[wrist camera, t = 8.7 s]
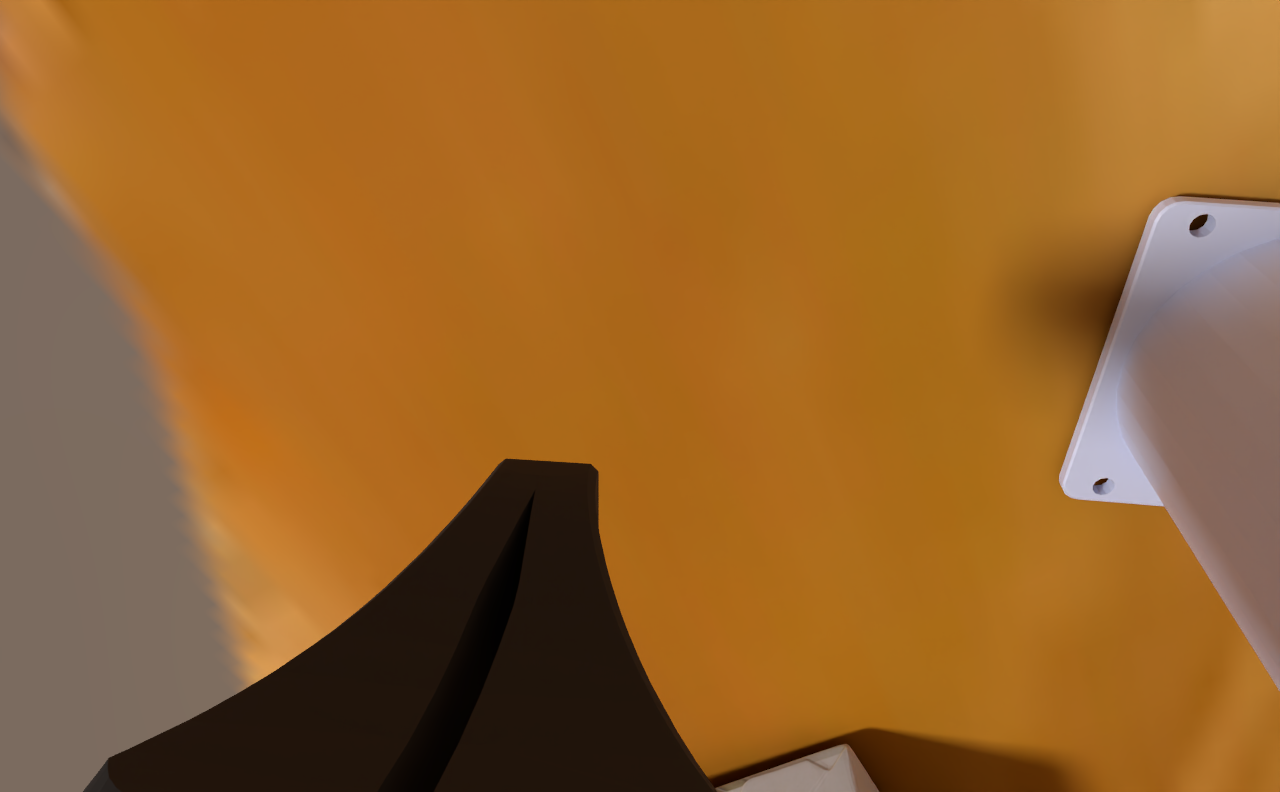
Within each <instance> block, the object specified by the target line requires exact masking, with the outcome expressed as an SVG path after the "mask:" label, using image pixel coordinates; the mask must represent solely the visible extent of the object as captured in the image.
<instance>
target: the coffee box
mask: <svg viewBox="0 0 1280 792" xmlns="http://www.w3.org/2000/svg"><path fill="white" fill-rule="evenodd" d="M715 789H716V791H717V792H879V790H878V789H877V787H876V785H875V784H874V783H873V781H872V780H871V778H870V776H869V775H868V773H867V771H866V770H865V768H864V767H863V765H862V764H861V762H860V761H859V759H858V758H857V756H856V755H855V753H854V752H853V750H852V749H851V747H850V746H849V745H847V744H842V745H838V746H835V747H832V748H829V749H826V750H823V751H820V752H817V753H814V754H811V755H808V756H805V757H802V758H799V759H796V760H794V761H791V762H788V763H785V764H782V765H780V766H777V767H774V768H771V769H768V770H765V771H762V772H759V773H756V774H754V775H751V776H748V777H745V778H743V779H740V780H737V781H734V782H731V783H728V784H725V785H722V786H719V787H716V788H715Z"/></svg>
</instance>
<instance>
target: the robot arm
mask: <svg viewBox="0 0 1280 792" xmlns="http://www.w3.org/2000/svg"><path fill="white" fill-rule="evenodd" d="M1204 214H1208V219H1207V221H1206V223H1205V224H1204V226H1202V227H1201V228H1199V229H1197V230H1191V231H1190V230H1189V227H1190V224H1191V222H1192V221H1193V219H1195V218H1196V217H1198V216H1199V215H1204ZM1103 478H1109V479H1108V480H1107V482H1105V483H1103V484H1102V485H1094V483H1095V482H1096V481H1098V480H1100V479H1103ZM1059 482H1060V485H1061V487H1062V489H1063V491H1064V493H1065V494H1066V495H1067V496H1069V497H1070V498H1074V499H1080V500H1092V501H1105V502H1117V503H1129V504H1141V505H1154V506H1165V508H1166V510H1167V511H1168V513H1169V514H1170V516H1171V518H1172V519H1173V521H1174V522H1175V524H1176V526H1177V527H1178V529H1179V530H1180V532H1181V534H1182V535H1183V537H1184V539H1185V540H1186V542H1187V543H1188V545H1189V547H1190V548H1191V550H1192V551H1193V553H1194V555H1195V556H1196V558H1197V559H1198V561H1199V563H1200V564H1201V566H1202V567H1203V569H1204V571H1205V572H1206V574H1207V575H1208V577H1209V579H1210V580H1211V582H1212V583H1213V585H1214V587H1215V588H1216V590H1217V591H1218V593H1219V595H1220V596H1221V598H1222V599H1223V601H1224V603H1225V604H1226V606H1227V607H1228V609H1229V611H1230V612H1231V614H1232V615H1233V617H1234V619H1235V620H1236V622H1237V623H1238V625H1239V627H1240V628H1241V630H1242V631H1243V633H1244V635H1245V636H1246V638H1247V640H1248V641H1249V643H1250V644H1251V646H1252V648H1253V649H1254V651H1255V652H1256V654H1257V656H1258V657H1259V659H1260V660H1261V662H1262V664H1263V665H1264V667H1265V668H1266V670H1267V672H1268V673H1269V675H1270V676H1271V678H1272V680H1273V681H1274V683H1275V684H1276V686H1277V688H1278V689H1279V691H1280V203H1273V202H1259V201H1244V200H1229V199H1214V198H1200V197H1185V196H1177V197H1170V198H1168V199H1166V200H1163V201H1161V202H1160V203H1159V204H1158V205H1157V206H1156V207H1154V208H1153V210H1152V212H1151V214H1150V215H1149V217H1148V220H1147V223H1146V226H1145V229H1144V232H1143V235H1142V238H1141V241H1140V244H1139V246H1138V249H1137V252H1136V255H1135V258H1134V261H1133V264H1132V267H1131V270H1130V272H1129V275H1128V278H1127V281H1126V284H1125V287H1124V290H1123V293H1122V296H1121V298H1120V301H1119V304H1118V307H1117V310H1116V313H1115V316H1114V319H1113V322H1112V324H1111V327H1110V330H1109V333H1108V336H1107V339H1106V342H1105V345H1104V348H1103V351H1102V353H1101V356H1100V359H1099V362H1098V365H1097V368H1096V371H1095V374H1094V377H1093V379H1092V382H1091V385H1090V388H1089V391H1088V394H1087V397H1086V400H1085V403H1084V405H1083V408H1082V411H1081V414H1080V417H1079V420H1078V423H1077V426H1076V429H1075V432H1074V434H1073V437H1072V440H1071V443H1070V446H1069V449H1068V452H1067V455H1066V458H1065V460H1064V463H1063V466H1062V469H1061V472H1060V475H1059ZM83 792H717V791H716V789H715V788H714V786H713V785H712V784H711V782H710V781H709V779H708V778H707V777H706V775H705V774H704V772H703V771H702V769H701V768H700V766H699V765H698V764H697V762H696V761H695V759H694V757H693V756H692V754H691V753H690V751H689V749H688V748H687V746H686V745H685V743H684V742H683V740H682V738H681V737H680V735H679V734H678V732H677V730H676V729H675V727H674V725H673V723H672V721H671V719H670V718H669V716H668V714H667V712H666V710H665V709H664V707H663V705H662V703H661V701H660V699H659V698H658V696H657V694H656V692H655V690H654V689H653V687H652V685H651V683H650V681H649V679H648V677H647V674H646V672H645V670H644V668H643V666H642V664H641V661H640V659H639V657H638V655H637V653H636V650H635V648H634V645H633V643H632V641H631V638H630V636H629V633H628V631H627V628H626V626H625V623H624V620H623V617H622V615H621V612H620V609H619V606H618V603H617V600H616V597H615V594H614V590H613V587H612V584H611V581H610V577H609V573H608V570H607V566H606V562H605V557H604V553H603V548H602V544H601V540H600V534H599V529H598V471H597V470H596V469H595V468H594V467H593V466H592V465H591V464H583V463H567V462H551V461H535V460H519V459H505V460H504V461H502V462H501V463H500V464H499V465H498V466H497V467H496V468H495V470H494V471H493V472H492V473H491V475H490V476H489V477H488V478H487V480H486V481H485V482H484V483H483V485H482V486H481V487H480V488H479V489H478V491H477V492H476V493H475V494H474V495H473V497H472V498H471V499H470V500H469V501H468V502H467V504H466V505H465V506H464V507H463V508H462V509H461V511H460V512H459V513H458V514H457V515H456V516H455V517H454V518H453V520H452V521H451V522H450V523H449V524H448V525H447V526H446V527H445V528H444V529H443V530H442V531H441V532H440V534H439V535H438V536H437V537H436V538H435V539H434V540H433V541H432V542H431V543H430V544H429V545H428V546H427V547H426V548H425V550H424V551H423V552H422V553H421V554H420V555H419V556H417V557H416V558H415V559H414V560H413V561H412V562H411V563H410V564H409V565H408V566H407V567H406V568H405V569H404V570H403V571H402V572H401V573H400V574H399V575H398V576H397V577H396V578H395V579H393V580H392V581H391V582H390V583H389V584H388V585H387V586H386V587H385V588H384V589H383V590H382V591H381V592H379V593H378V594H377V595H376V596H375V597H374V598H372V599H371V600H370V601H369V602H368V603H367V604H366V605H364V606H363V607H362V608H361V609H360V610H358V611H357V612H356V613H355V614H353V615H352V616H351V617H350V618H348V619H347V620H346V621H345V622H343V623H342V624H341V625H340V626H338V627H337V628H336V629H335V630H333V631H332V632H331V633H329V634H328V635H326V636H325V637H324V638H322V639H321V640H319V641H318V642H317V643H315V644H314V645H313V646H311V647H310V648H308V649H307V650H305V651H304V652H302V653H301V654H299V655H298V656H296V657H295V658H293V659H292V660H290V661H289V662H288V663H286V664H285V665H283V666H282V667H280V668H279V669H277V670H276V671H274V672H273V673H271V674H269V675H268V676H266V677H265V678H263V679H261V680H259V681H258V682H256V683H254V684H253V685H251V686H249V687H248V688H246V689H244V690H243V691H241V692H239V693H238V694H236V695H234V696H232V697H230V698H229V699H227V700H225V701H223V702H221V703H220V704H218V705H216V706H214V707H213V708H211V709H209V710H207V711H205V712H203V713H201V714H199V715H198V716H196V717H194V718H192V719H190V720H188V721H186V722H184V723H182V724H180V725H178V726H176V727H174V728H172V729H170V730H167V731H165V732H163V733H161V734H159V735H157V736H155V737H153V738H151V739H148V740H146V741H144V742H142V743H140V744H138V745H136V746H134V747H132V748H130V749H128V750H125V751H123V752H121V753H119V754H116V755H114V756H112V757H110V758H108V760H107V761H106V763H105V764H104V765H103V767H102V768H101V769H100V771H99V772H98V773H97V774H96V776H95V777H94V778H93V780H92V781H91V782H90V783H89V785H88V786H87V787H86V788H85V790H84V791H83Z"/></svg>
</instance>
